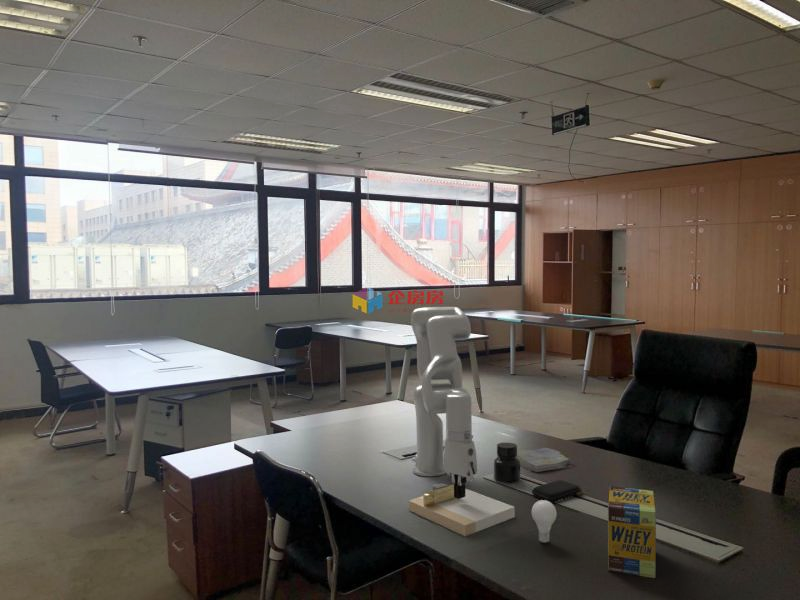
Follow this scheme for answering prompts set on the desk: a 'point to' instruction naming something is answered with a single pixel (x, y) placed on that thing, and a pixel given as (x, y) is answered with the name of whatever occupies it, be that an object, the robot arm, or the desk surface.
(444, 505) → the white cabinet door
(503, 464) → the ink bottle
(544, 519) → the lightbulb
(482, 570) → the desk surface
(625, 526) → the protein box
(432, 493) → the gold bar
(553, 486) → the carrying case or bag
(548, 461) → the grey flat stone slab
